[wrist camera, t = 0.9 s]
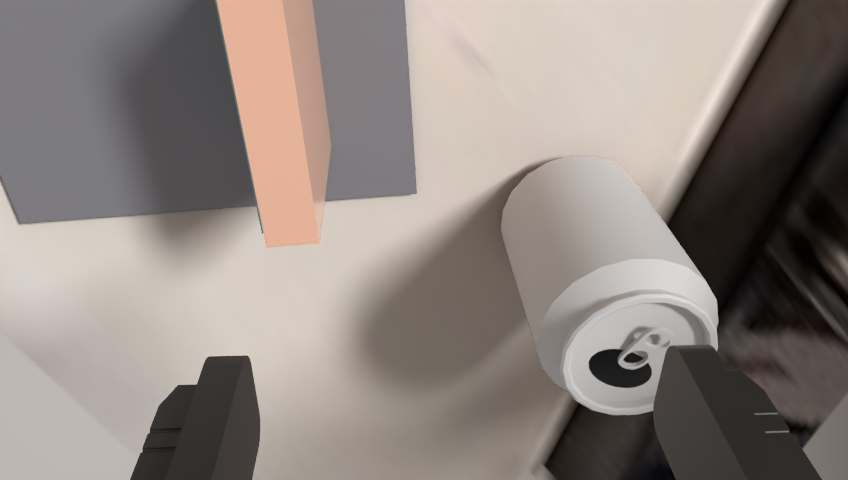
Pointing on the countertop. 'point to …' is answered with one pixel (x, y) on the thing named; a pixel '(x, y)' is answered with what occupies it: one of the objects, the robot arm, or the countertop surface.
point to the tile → (280, 112)
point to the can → (602, 282)
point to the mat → (180, 106)
